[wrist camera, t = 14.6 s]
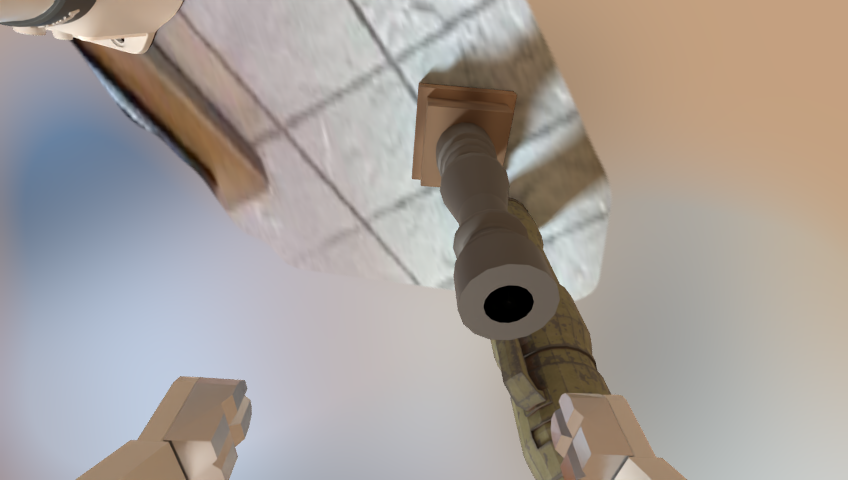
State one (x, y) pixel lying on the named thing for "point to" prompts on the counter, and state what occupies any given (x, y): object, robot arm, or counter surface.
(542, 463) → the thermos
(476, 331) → the candle holder
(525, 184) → the counter surface
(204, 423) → the robot arm
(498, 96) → the walnut stand
